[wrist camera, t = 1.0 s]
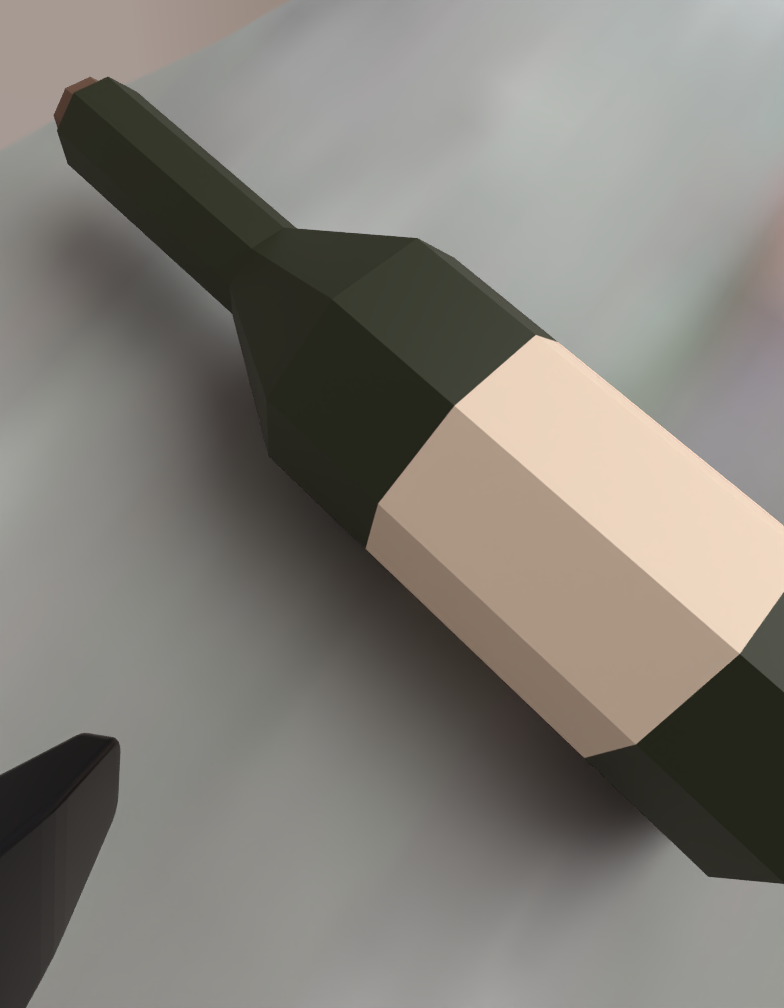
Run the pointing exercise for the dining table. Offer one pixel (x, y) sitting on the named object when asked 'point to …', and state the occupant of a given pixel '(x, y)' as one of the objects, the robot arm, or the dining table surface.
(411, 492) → the wine bottle
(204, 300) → the dining table surface
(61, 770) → the robot arm
